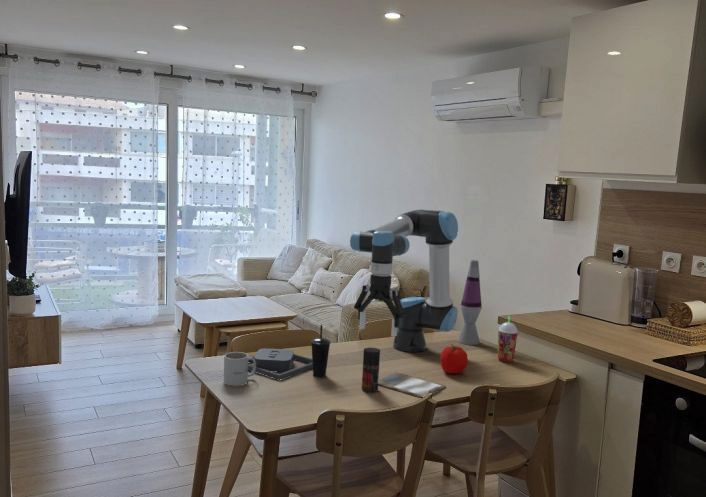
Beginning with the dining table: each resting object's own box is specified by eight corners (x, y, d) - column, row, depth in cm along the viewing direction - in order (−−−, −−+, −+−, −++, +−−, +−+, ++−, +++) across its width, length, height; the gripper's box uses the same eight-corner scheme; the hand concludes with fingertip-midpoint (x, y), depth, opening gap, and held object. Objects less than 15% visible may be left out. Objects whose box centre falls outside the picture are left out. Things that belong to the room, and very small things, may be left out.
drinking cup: (332, 373, 225) (334, 323, 223) (324, 380, 218) (327, 328, 216) (314, 370, 228) (316, 321, 225) (306, 376, 221) (308, 325, 218)
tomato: (450, 366, 242) (451, 340, 241) (473, 373, 234) (475, 346, 233) (432, 371, 234) (434, 345, 232) (455, 379, 226) (457, 352, 224)
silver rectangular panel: (373, 383, 217) (373, 380, 217) (395, 373, 230) (396, 369, 230) (424, 399, 204) (425, 395, 204) (445, 387, 217) (445, 383, 217)
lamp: (457, 343, 276) (463, 261, 271) (457, 337, 286) (462, 258, 281) (480, 345, 274) (486, 262, 269) (479, 339, 285) (485, 259, 280)
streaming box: (259, 360, 239) (259, 348, 238) (294, 362, 238) (294, 349, 238) (252, 371, 224) (252, 359, 224) (289, 373, 224) (290, 361, 223)
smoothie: (513, 358, 257) (517, 314, 254) (516, 364, 248) (520, 319, 246) (494, 357, 257) (497, 313, 255) (497, 363, 249) (500, 317, 247)
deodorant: (360, 386, 213) (362, 347, 211) (376, 386, 214) (379, 347, 212) (362, 392, 207) (364, 352, 206) (378, 392, 208) (381, 352, 206)
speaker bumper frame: (235, 366, 229) (235, 361, 229) (277, 353, 248) (277, 348, 248) (279, 380, 215) (279, 375, 215) (319, 365, 234) (319, 361, 234)
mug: (227, 387, 206) (227, 360, 205) (221, 379, 214) (221, 353, 213) (260, 383, 212) (261, 356, 211) (253, 375, 219) (254, 350, 218)
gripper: (346, 270, 210) (343, 327, 213) (406, 280, 196) (402, 341, 199) (358, 268, 216) (355, 324, 219) (416, 278, 202) (413, 337, 205)
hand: (377, 332), depth 209 cm, fingers open, 13 cm apart
